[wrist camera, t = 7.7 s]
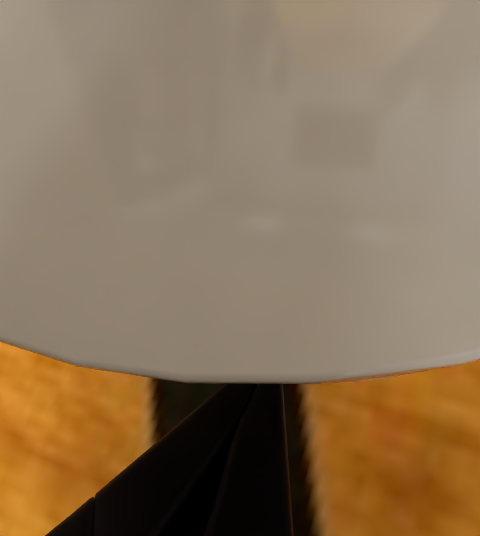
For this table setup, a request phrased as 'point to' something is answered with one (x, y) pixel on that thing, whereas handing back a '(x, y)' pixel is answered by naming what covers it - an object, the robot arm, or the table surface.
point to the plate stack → (241, 187)
